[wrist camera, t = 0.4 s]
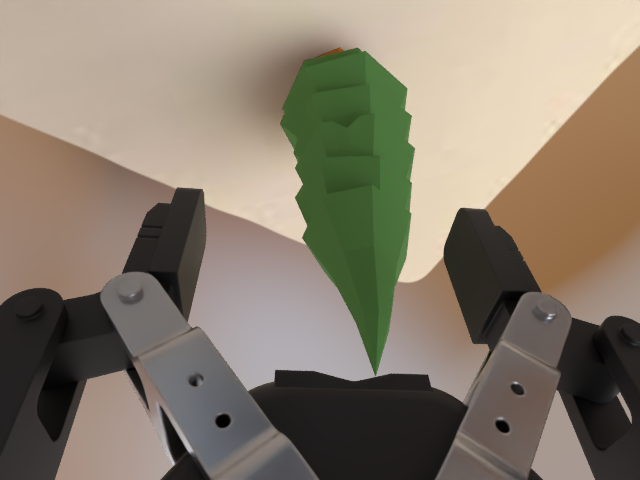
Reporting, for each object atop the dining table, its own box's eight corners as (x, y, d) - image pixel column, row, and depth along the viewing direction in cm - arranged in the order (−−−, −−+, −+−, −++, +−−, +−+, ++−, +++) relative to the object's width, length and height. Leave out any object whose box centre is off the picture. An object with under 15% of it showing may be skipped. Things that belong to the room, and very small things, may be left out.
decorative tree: (265, 56, 38) (237, 336, 14) (369, 2, 36) (535, 226, 12) (314, 150, 44) (351, 461, 20) (406, 108, 42) (568, 400, 18)
